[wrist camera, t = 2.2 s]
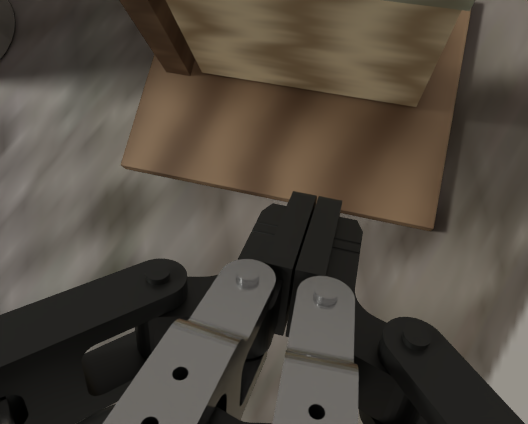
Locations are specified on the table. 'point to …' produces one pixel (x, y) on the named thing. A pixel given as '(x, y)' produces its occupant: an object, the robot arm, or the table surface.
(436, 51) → the gate leaf
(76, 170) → the table surface
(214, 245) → the table surface
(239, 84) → the gate base
